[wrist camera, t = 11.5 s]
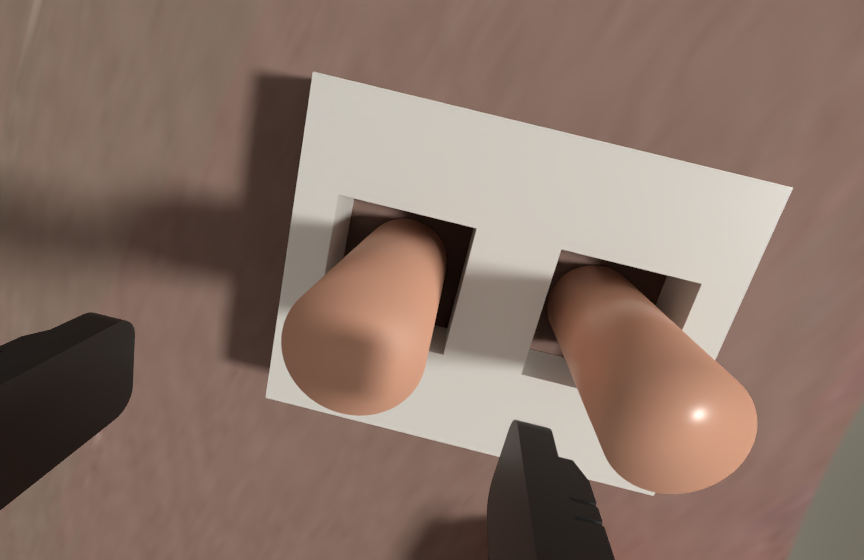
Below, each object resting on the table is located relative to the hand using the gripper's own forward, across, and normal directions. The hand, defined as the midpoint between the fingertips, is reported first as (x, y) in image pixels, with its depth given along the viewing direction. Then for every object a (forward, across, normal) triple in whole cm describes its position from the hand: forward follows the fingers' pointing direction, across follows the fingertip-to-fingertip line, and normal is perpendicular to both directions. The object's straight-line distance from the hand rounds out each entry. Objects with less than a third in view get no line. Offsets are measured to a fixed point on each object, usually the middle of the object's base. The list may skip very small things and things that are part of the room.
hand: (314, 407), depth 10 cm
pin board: (+13, -4, 0) cm, 14 cm away
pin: (+13, 0, 0) cm, 13 cm away
